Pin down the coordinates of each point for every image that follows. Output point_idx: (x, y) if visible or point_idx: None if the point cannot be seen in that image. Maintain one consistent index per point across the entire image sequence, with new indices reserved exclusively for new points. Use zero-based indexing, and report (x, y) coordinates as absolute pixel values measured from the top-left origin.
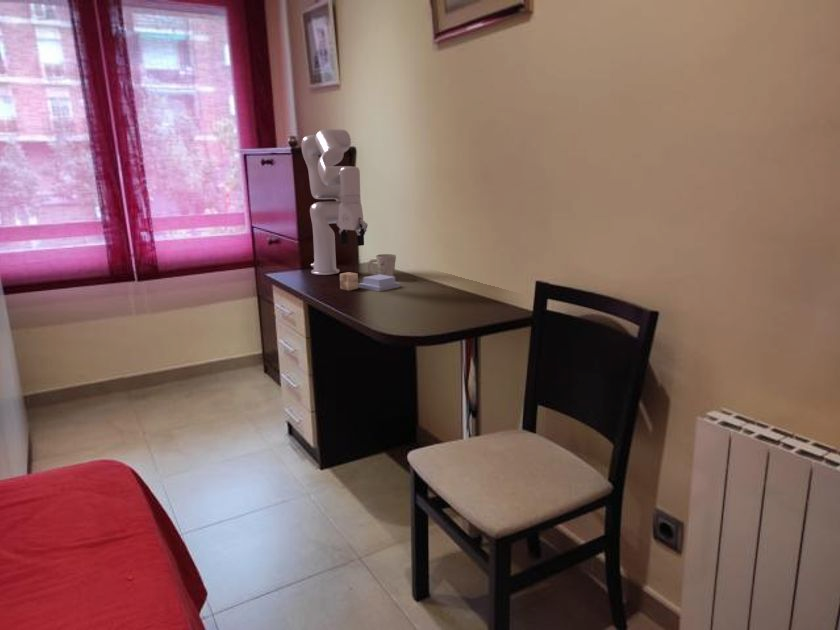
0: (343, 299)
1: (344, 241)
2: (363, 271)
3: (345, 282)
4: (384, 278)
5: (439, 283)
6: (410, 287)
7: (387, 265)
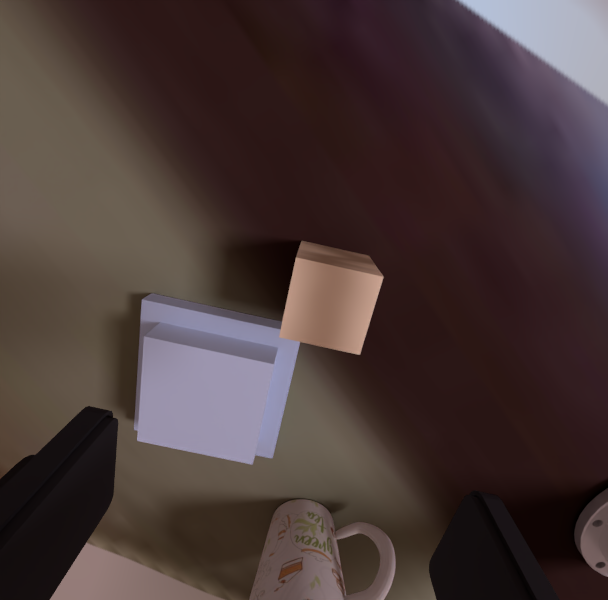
0: (170, 7)
1: (459, 554)
2: None
3: (325, 254)
4: (154, 387)
5: None
6: None
7: (266, 569)
